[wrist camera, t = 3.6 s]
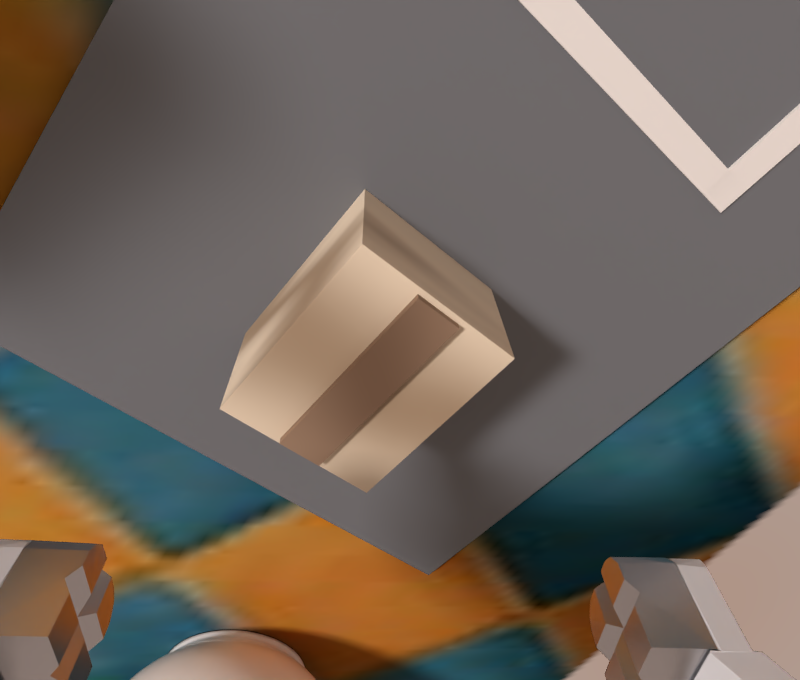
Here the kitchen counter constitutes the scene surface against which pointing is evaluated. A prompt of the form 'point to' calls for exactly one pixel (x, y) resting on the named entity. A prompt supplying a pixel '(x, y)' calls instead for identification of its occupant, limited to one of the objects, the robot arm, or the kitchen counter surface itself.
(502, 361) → the taped cardboard box
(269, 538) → the kitchen counter surface
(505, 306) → the rubber mat
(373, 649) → the kitchen counter surface
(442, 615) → the kitchen counter surface
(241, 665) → the lidded jar
